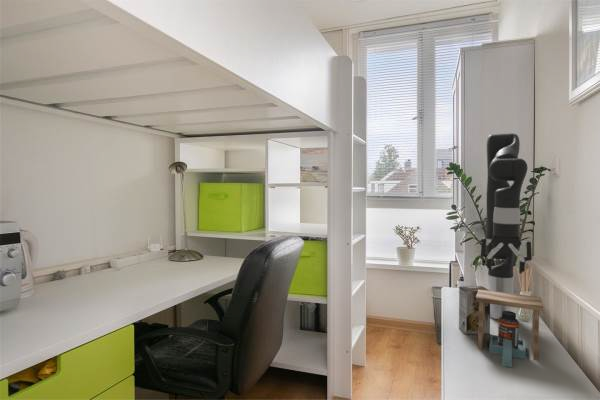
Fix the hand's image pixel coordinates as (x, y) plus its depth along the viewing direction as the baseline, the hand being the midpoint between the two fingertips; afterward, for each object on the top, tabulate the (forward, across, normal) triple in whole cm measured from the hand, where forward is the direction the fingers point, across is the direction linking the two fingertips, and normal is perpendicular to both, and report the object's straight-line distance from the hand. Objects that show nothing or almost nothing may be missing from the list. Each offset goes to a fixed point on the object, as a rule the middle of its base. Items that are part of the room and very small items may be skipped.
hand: (505, 271), depth 122 cm
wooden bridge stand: (+27, -1, -5) cm, 27 cm away
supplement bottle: (+26, -1, -3) cm, 26 cm away
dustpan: (+27, -1, +1) cm, 27 cm away
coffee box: (+27, +10, -15) cm, 33 cm away
